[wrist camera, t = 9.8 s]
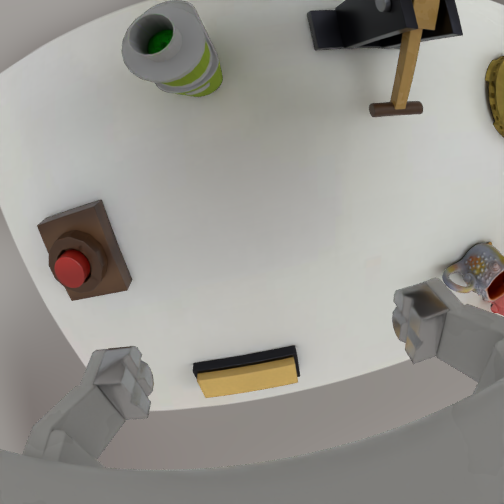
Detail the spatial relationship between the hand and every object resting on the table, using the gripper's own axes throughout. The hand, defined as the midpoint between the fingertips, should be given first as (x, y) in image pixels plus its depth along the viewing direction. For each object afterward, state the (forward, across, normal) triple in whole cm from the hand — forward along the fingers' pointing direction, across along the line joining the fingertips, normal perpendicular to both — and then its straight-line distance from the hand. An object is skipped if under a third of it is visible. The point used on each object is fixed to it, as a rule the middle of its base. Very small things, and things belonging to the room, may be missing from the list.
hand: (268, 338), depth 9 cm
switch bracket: (+23, -14, -12) cm, 30 cm away
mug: (+24, -28, +18) cm, 41 cm away
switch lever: (+16, -14, -9) cm, 23 cm away
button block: (+23, +19, +4) cm, 30 cm away
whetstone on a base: (+23, +5, +26) cm, 36 cm away
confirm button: (+20, +19, +4) cm, 28 cm away
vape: (+24, +2, -10) cm, 26 cm away
